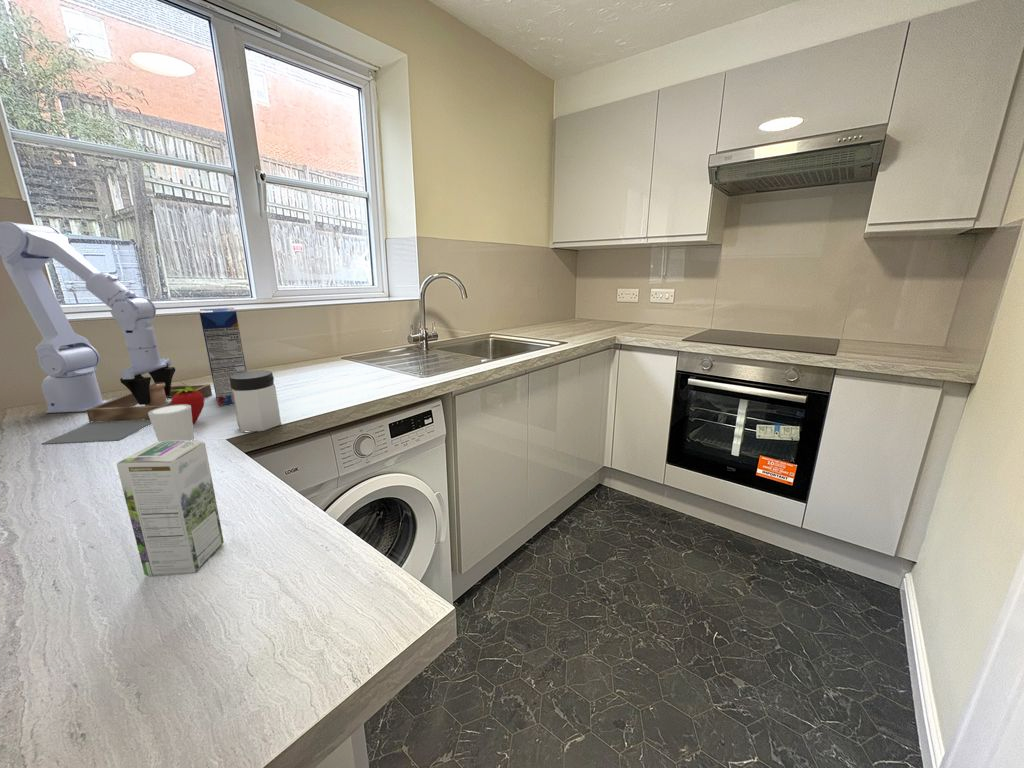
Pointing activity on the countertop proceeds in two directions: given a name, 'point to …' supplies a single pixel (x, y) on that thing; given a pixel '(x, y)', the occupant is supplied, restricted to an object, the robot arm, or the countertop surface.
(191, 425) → the white tapered pot
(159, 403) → the wooden drawer knob
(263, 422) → the jar
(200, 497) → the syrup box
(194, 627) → the countertop surface
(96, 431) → the slate mat
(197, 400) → the strawberry
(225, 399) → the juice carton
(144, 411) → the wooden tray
